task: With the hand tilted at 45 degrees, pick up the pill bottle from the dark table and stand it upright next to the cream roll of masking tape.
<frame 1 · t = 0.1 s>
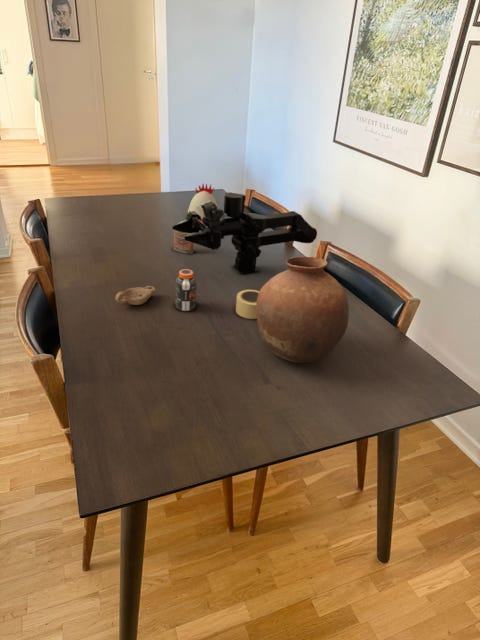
hand: (178, 232, 136), 17 cm above the table, tool horizontal, fingers open, 9 cm apart
tape roll: (250, 311, 132), on the table
oil lamp: (136, 302, 132), on the table
pottery: (295, 350, 117), on the table
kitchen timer: (203, 217, 199), on the table
pill bottle: (185, 306, 132), on the table
red upright container: (183, 251, 166), on the table
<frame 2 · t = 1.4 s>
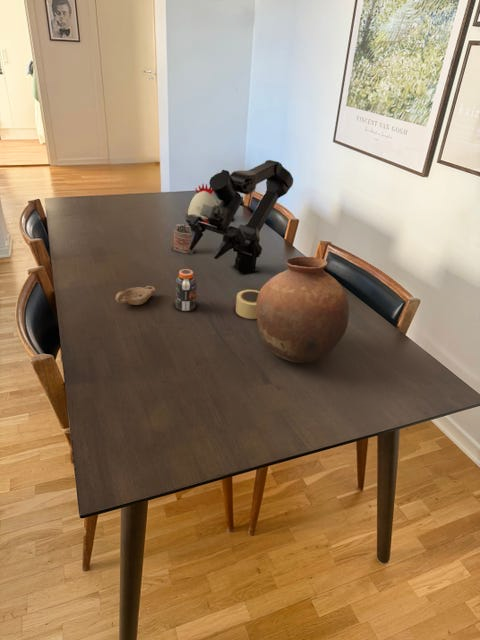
hand: (202, 254, 130), 14 cm above the table, tool tilted 45°, fingers open, 9 cm apart
nothing on the table moved.
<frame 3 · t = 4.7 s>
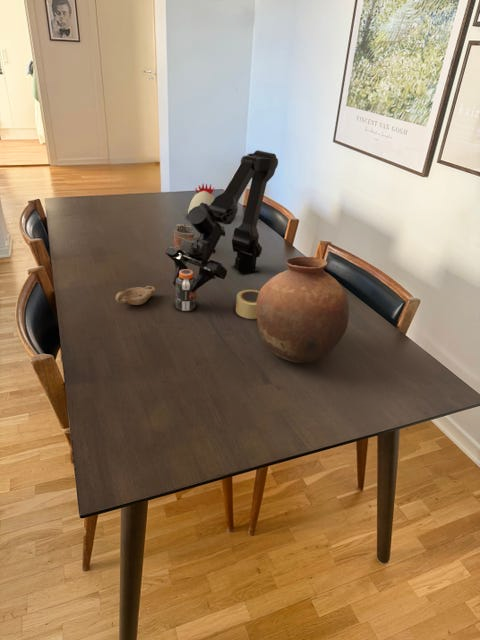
hand: (182, 288, 127), 7 cm above the table, tool tilted 45°, fingers closed on pill bottle, 6 cm apart
pill bottle: (185, 306, 132), on the table, touching gripper
everything else where it was.
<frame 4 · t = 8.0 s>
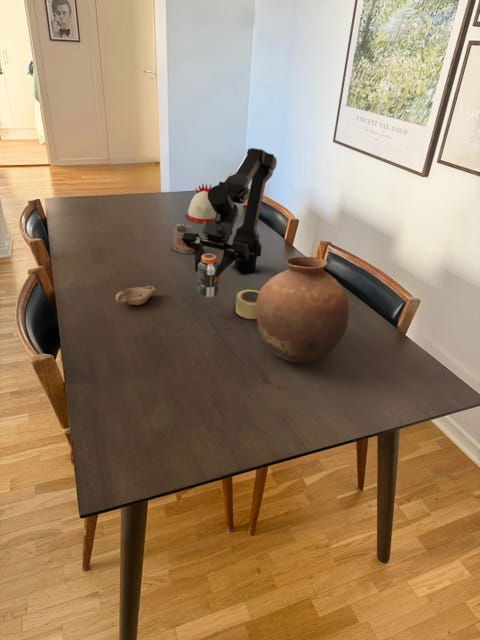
hand: (206, 273, 121), 13 cm above the table, tool tilted 45°, fingers closed on pill bottle, 6 cm apart
pill bottle: (207, 293, 126), point 6 cm above the table, touching gripper
everything else where it was.
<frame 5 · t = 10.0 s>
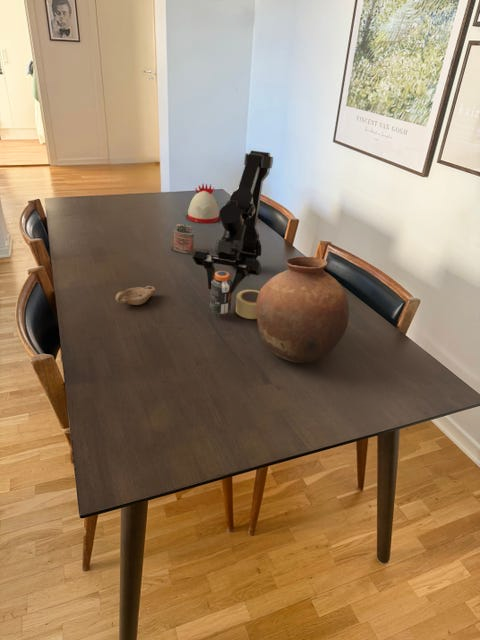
hand: (220, 291, 123), 9 cm above the table, tool tilted 45°, fingers closed on pill bottle, 6 cm apart
pill bottle: (220, 309, 128), point 2 cm above the table, touching gripper
everything else where it was.
when the fingers open (7 cm above the table, at t = 11.2 s): pill bottle stays where it is, on the table.
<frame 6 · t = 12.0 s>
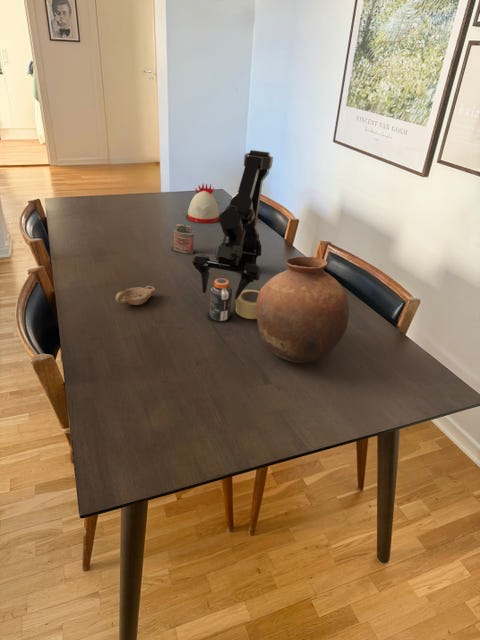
hand: (219, 295, 123), 7 cm above the table, tool tilted 45°, fingers open, 9 cm apart
pill bottle: (219, 316, 129), on the table
everything else where it was.
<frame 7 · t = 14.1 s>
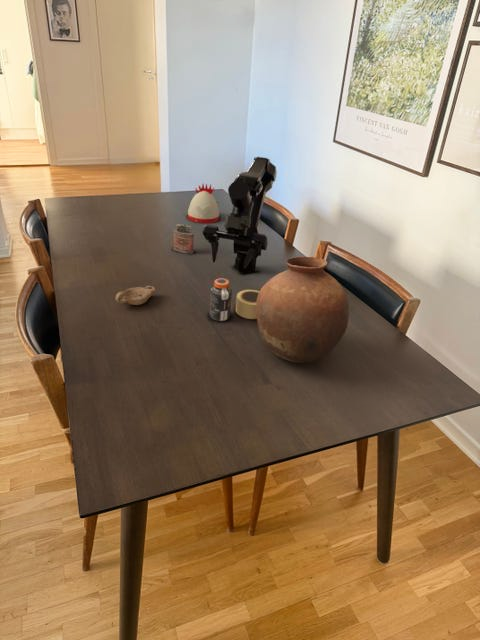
hand: (228, 264, 129), 13 cm above the table, tool tilted 40°, fingers open, 9 cm apart
nothing on the table moved.
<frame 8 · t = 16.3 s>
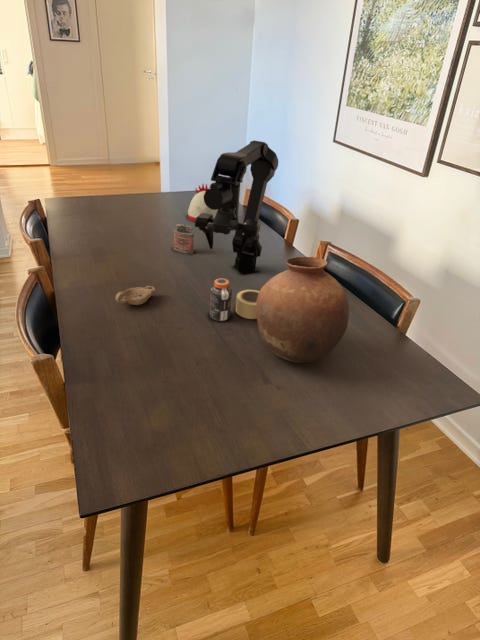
hand: (225, 251, 136), 13 cm above the table, tool pointing down, fingers open, 9 cm apart
nothing on the table moved.
at the end: pill bottle 9.9 cm from the tape roll (horizontally); pill bottle tilted 0°; pill bottle touching table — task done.
